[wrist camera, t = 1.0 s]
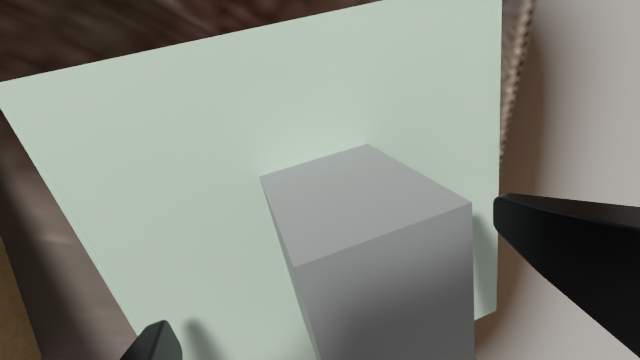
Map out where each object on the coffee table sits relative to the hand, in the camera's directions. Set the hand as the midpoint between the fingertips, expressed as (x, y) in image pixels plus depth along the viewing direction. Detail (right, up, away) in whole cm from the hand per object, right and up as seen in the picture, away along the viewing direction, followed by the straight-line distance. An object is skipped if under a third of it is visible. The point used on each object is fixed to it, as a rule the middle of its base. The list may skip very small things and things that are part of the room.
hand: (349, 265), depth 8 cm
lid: (-1, +1, +3) cm, 3 cm away
